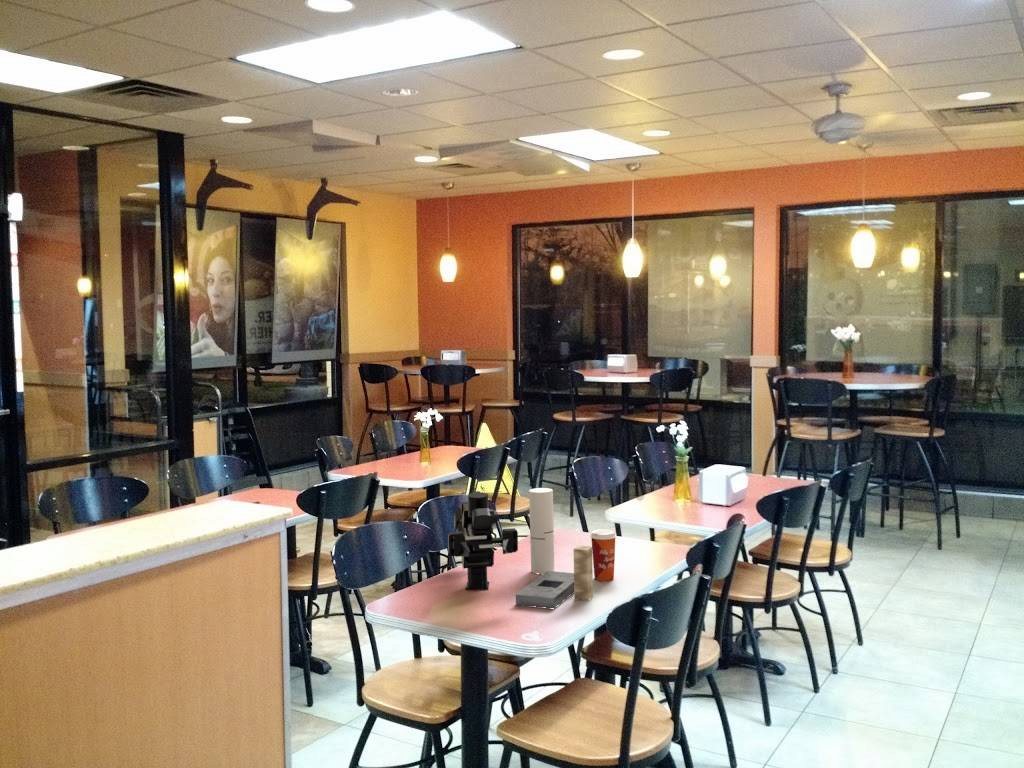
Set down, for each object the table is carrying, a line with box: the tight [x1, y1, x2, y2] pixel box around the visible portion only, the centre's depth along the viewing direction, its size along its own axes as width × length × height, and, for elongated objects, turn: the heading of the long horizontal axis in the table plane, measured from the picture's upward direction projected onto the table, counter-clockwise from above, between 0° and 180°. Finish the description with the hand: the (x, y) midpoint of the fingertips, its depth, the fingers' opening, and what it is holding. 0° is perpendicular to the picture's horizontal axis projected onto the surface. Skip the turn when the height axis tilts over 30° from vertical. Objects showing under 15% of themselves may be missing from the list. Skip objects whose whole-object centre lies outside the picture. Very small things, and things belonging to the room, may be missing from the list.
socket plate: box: [515, 571, 574, 609], centre depth 256 cm, size 11×24×3 cm, turn 157°
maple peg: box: [573, 545, 594, 601], centre depth 251 cm, size 4×4×14 cm
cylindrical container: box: [528, 487, 556, 575], centre depth 278 cm, size 7×7×25 cm
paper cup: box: [589, 528, 617, 582], centre depth 269 cm, size 8×8×14 cm
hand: (486, 553), depth 239 cm, fingers open, 9 cm apart
